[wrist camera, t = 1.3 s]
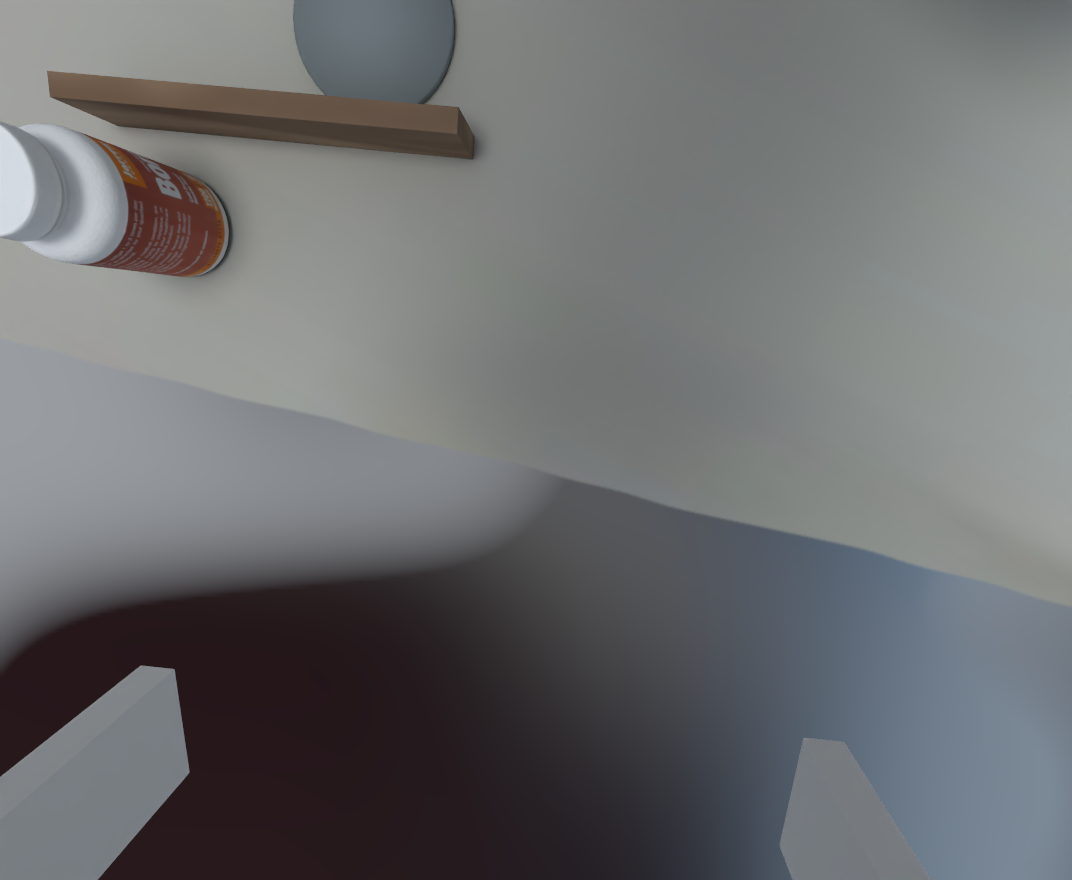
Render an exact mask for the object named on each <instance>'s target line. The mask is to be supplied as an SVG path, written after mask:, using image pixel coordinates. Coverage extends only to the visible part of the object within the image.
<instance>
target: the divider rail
mask: <svg viewBox="0 0 1072 880" xmlns="http://www.w3.org/2000/svg"><path fill="white" fill-rule="evenodd" d="M47 74H48V82H49V91H50V97H52V98H54V99H56V100H59V101H61V102H63V103H66V104H68V105H70V106H73V107H75V108H77V109H80V110H82V111H84V112H87V113H89V114H91V115H94V116H96V117H98V118H101V119H103V120H105V121H108V122H110V123H112V124H115V125H117V126H124V127H135V128H146V129H156V130H167V131H178V132H188V133H199V134H210V135H220V136H231V137H242V138H252V139H263V140H274V141H285V142H295V143H306V144H317V145H327V146H338V147H349V148H359V149H370V150H381V151H391V152H402V153H413V154H423V155H434V156H445V157H455V158H466V159H473V150H474V135H473V133H472V131H471V129H470V127H469V126H468V124H467V122H466V120H465V118H464V116H463V115H462V113H461V111H460V109H459V107H449V106H438V105H426V104H415V103H404V102H392V101H381V100H370V99H359V98H347V97H336V96H325V95H313V94H302V93H291V92H279V91H268V90H257V89H245V88H234V87H223V86H211V85H200V84H189V83H177V82H166V81H155V80H143V79H132V78H121V77H109V76H98V75H87V74H75V73H64V72H53V71H47Z"/></svg>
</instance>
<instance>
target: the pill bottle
mask: <svg viewBox="0 0 1072 880" xmlns="http://www.w3.org/2000/svg"><path fill="white" fill-rule="evenodd" d="M0 238H5V239H10V240H14V241H21V242H22V243H23V244H24V245H26V246H27V247H29V248H30V249H32V250H33V251H35V252H37V253H39V254H41V255H43V256H45V257H47V258H50V259H53V260H56V261H61V262H66V263H72V264H79V265H88V266H96V267H105V268H114V269H123V270H131V271H139V272H148V273H155V274H163V275H172V276H181V277H191V276H198V275H202V274H204V273H206V272H208V271H210V270H212V269H213V268H214V267H215V266H216V265H217V264H218V263H219V262H220V261H221V260H222V258H223V256H224V254H225V252H226V249H227V245H228V238H229V229H228V222H227V217H226V214H225V211H224V209H223V207H222V205H221V203H220V201H219V199H218V198H217V196H216V195H215V194H214V192H213V191H212V190H211V189H210V188H209V187H208V186H207V185H205V184H204V183H203V182H202V181H200V180H199V179H197V178H195V177H193V176H191V175H189V174H187V173H184V172H182V171H179V170H177V169H174V168H171V167H169V166H166V165H164V164H161V163H159V162H156V161H154V160H151V159H148V158H146V157H143V156H141V155H138V154H135V153H133V152H130V151H127V150H125V149H122V148H120V147H117V146H115V145H112V144H109V143H106V142H104V141H101V140H98V139H96V138H93V137H91V136H88V135H86V134H83V133H80V132H77V131H74V130H71V129H68V128H65V127H62V126H58V125H53V124H29V125H25V126H22V127H19V128H18V127H15V126H12V125H9V124H6V123H3V122H0Z"/></svg>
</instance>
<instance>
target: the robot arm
mask: <svg viewBox="0 0 1072 880" xmlns="http://www.w3.org/2000/svg"><path fill="white" fill-rule="evenodd" d="M188 774H189V766H188V760H187V753H186V746H185V740H184V732H183V725H182V719H181V712H180V705H179V698H178V691H177V684H176V677H175V670H174V669H167V668H158V667H149V666H140V667H139V668H137V669H136V670H135V671H134V672H132V673H131V674H130V675H128V676H127V677H126V678H125V679H123V680H122V681H121V682H120V683H118V684H117V685H116V686H115V687H113V688H112V689H111V690H110V691H108V692H107V693H106V694H104V695H103V696H102V697H101V698H99V699H98V700H97V701H96V702H94V703H93V704H92V705H91V706H89V707H88V708H87V709H86V710H84V711H83V712H82V713H80V714H79V715H78V716H77V717H75V718H74V719H73V720H72V721H70V722H69V723H68V724H67V725H66V726H64V727H63V728H62V729H60V730H59V731H58V732H56V733H55V734H54V735H53V736H52V737H50V738H49V739H48V740H46V741H45V742H44V743H43V744H42V745H40V746H39V747H38V748H36V749H35V750H34V751H33V752H31V753H30V754H29V755H27V756H26V757H25V758H24V759H22V760H21V761H20V762H19V763H17V764H16V765H15V766H14V767H12V768H11V769H10V770H9V771H8V772H6V773H5V774H4V775H2V776H1V777H0V880H97V879H98V878H99V877H100V876H101V875H102V874H103V873H104V871H105V870H106V869H107V868H108V867H109V866H110V864H111V863H112V862H113V861H114V860H115V859H116V857H117V856H118V855H119V854H120V853H121V852H122V850H123V849H124V848H125V847H126V846H127V845H128V843H129V842H130V841H131V840H132V839H133V838H134V836H135V835H136V834H137V833H138V832H139V831H140V829H141V828H142V827H143V826H144V825H145V824H146V822H147V821H148V820H149V819H150V818H151V817H152V815H153V814H154V813H155V812H156V811H157V810H158V808H159V807H160V806H161V805H162V804H163V803H164V801H165V800H166V799H167V798H168V797H169V795H170V794H171V793H172V792H173V791H174V790H175V789H176V787H177V786H178V785H179V784H180V783H181V782H182V780H183V779H184V778H185V777H186V776H187V775H188ZM780 848H781V850H782V853H783V855H784V858H785V861H786V863H787V866H788V868H789V871H790V874H791V876H792V879H793V880H930V878H929V877H928V875H927V873H926V872H925V870H924V869H923V867H922V866H921V864H920V862H919V861H918V859H917V858H916V856H915V855H914V853H913V851H912V850H911V848H910V847H909V845H908V843H907V842H906V840H905V838H904V837H903V835H902V834H901V832H900V831H899V829H898V827H897V826H896V824H895V822H894V821H893V819H892V818H891V816H890V815H889V813H888V811H887V810H886V808H885V807H884V805H883V803H882V802H881V800H880V799H879V797H878V795H877V794H876V792H875V791H874V789H873V787H872V786H871V784H870V783H869V781H868V780H867V778H866V776H865V775H864V773H863V772H862V770H861V768H860V767H859V765H858V764H857V762H856V760H855V759H854V757H853V756H852V754H851V753H850V751H849V749H848V748H847V746H846V744H845V743H844V742H838V741H829V740H820V739H811V738H804V739H803V743H802V748H801V752H800V757H799V762H798V766H797V770H796V775H795V779H794V783H793V788H792V792H791V797H790V802H789V806H788V811H787V815H786V819H785V824H784V828H783V832H782V837H781V841H780Z"/></svg>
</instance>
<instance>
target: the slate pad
mask: <svg viewBox="0 0 1072 880" xmlns="http://www.w3.org/2000/svg"><path fill="white" fill-rule="evenodd" d="M293 21H294V32H295V38H296V43H297V47H298V50H299V54H300V56H301V59H302V61H303V64H304V66H305V68H306V69H307V71H308V73H309V75H310V76H311V78H312V79H313V81H314V82H315V84H316V85H317V86H318V87H319V88H320V89H321V91H322V92H323V93H324V94H325V95H326V96H336V97H347V98H359V99H370V100H381V101H392V102H404V103H415V104H423V103H424V102H426V101H427V100H428V99H429V98H430V97H431V95H432V94H433V93H434V92H435V91H436V89H437V88H438V86H439V85H440V83H441V82H442V80H443V78H444V76H445V74H446V72H447V69H448V66H449V63H450V61H451V56H452V52H453V47H454V38H455V23H454V13H453V8H452V4H451V0H295V1H294V13H293Z"/></svg>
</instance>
